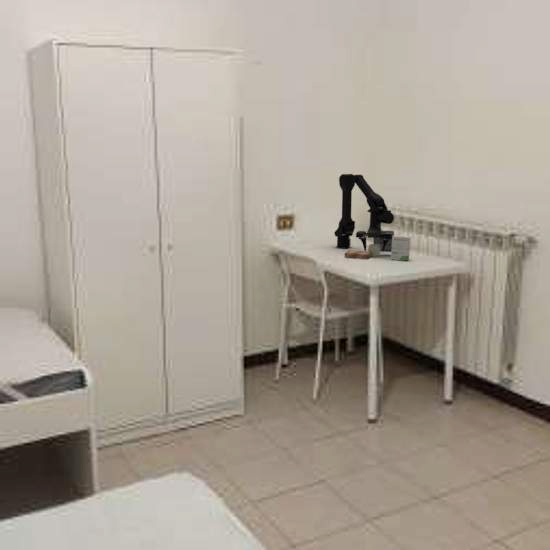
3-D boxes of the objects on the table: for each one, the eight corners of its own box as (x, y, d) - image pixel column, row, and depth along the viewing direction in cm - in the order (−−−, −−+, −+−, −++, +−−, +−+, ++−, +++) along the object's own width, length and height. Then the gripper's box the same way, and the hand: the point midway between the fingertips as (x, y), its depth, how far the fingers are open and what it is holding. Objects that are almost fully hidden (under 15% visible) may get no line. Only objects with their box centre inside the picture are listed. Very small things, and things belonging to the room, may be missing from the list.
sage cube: (368, 255, 365) (368, 245, 364) (370, 253, 370) (370, 244, 369) (377, 255, 363) (378, 246, 362) (379, 254, 368) (380, 244, 367)
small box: (392, 249, 381) (393, 230, 379) (393, 251, 375) (394, 232, 373) (373, 249, 382) (373, 229, 380) (373, 251, 376) (374, 231, 374)
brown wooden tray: (344, 257, 357) (344, 252, 356) (349, 254, 366) (349, 249, 365) (367, 259, 353) (368, 254, 352) (372, 256, 362) (372, 251, 361)
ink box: (390, 259, 352) (391, 236, 350) (392, 258, 357) (393, 235, 355) (407, 261, 350) (409, 237, 347) (409, 259, 354) (410, 236, 352)
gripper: (354, 222, 359) (352, 252, 362) (390, 224, 353) (389, 255, 356) (359, 219, 369) (357, 249, 372) (394, 222, 363) (393, 252, 366)
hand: (374, 251), depth 366 cm, fingers open, 9 cm apart
